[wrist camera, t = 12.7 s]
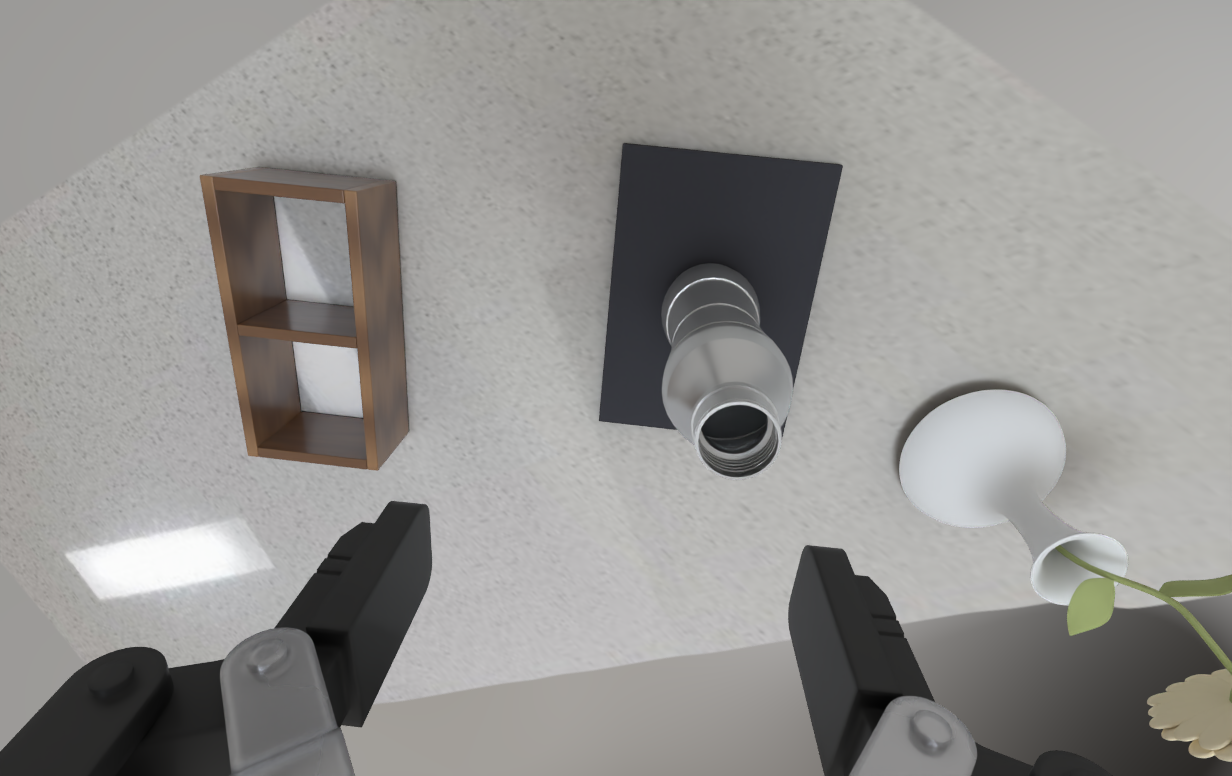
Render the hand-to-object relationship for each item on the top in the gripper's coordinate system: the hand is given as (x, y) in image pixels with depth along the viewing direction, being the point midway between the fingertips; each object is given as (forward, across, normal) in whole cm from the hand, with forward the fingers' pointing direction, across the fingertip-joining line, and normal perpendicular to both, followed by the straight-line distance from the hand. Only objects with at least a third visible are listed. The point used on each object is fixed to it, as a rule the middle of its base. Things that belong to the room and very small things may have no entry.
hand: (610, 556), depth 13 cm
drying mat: (+33, -5, +4) cm, 33 cm away
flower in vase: (+32, -27, +13) cm, 44 cm away
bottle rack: (+33, +22, +7) cm, 40 cm away
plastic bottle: (+32, -5, +4) cm, 33 cm away
